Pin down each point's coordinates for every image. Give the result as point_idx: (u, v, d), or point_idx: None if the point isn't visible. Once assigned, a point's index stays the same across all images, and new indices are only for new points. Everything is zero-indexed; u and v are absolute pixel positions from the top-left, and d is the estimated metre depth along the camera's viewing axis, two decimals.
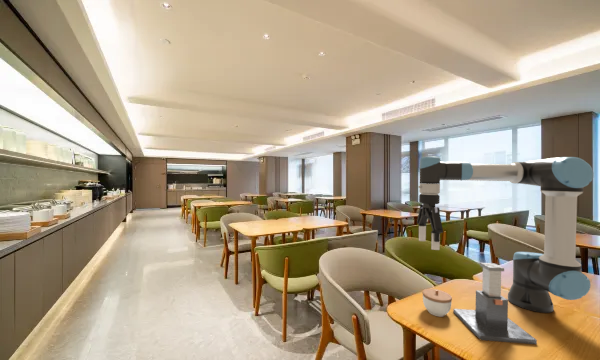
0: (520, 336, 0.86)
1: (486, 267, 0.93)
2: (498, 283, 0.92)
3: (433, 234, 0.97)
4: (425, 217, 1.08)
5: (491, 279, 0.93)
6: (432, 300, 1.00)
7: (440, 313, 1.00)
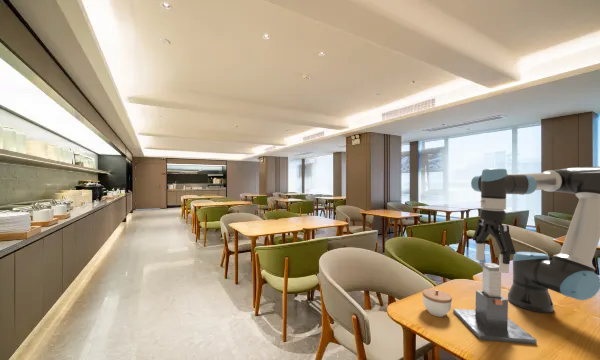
0: (520, 336, 0.86)
1: (486, 267, 0.93)
2: (498, 283, 0.92)
3: (502, 255, 0.87)
4: (485, 234, 0.98)
5: (491, 279, 0.93)
6: (432, 300, 1.00)
7: (440, 313, 1.00)
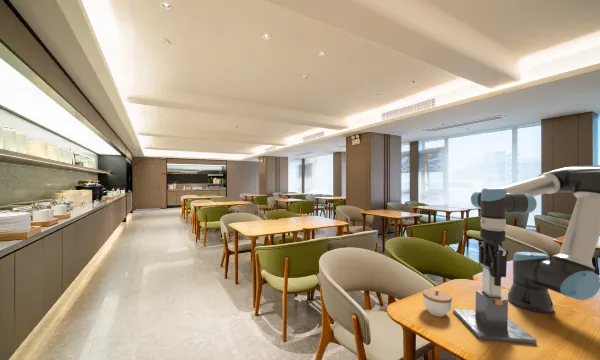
0: (520, 336, 0.86)
1: (486, 267, 0.93)
2: None
3: (493, 277, 0.92)
4: (489, 256, 0.96)
5: None
6: (432, 300, 1.00)
7: (440, 313, 1.00)
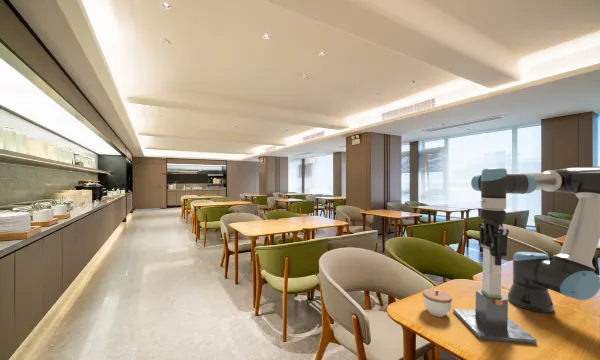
0: (520, 336, 0.86)
1: (486, 247, 0.93)
2: None
3: (494, 257, 0.92)
4: (489, 237, 0.96)
5: None
6: (432, 300, 1.00)
7: (440, 313, 1.00)
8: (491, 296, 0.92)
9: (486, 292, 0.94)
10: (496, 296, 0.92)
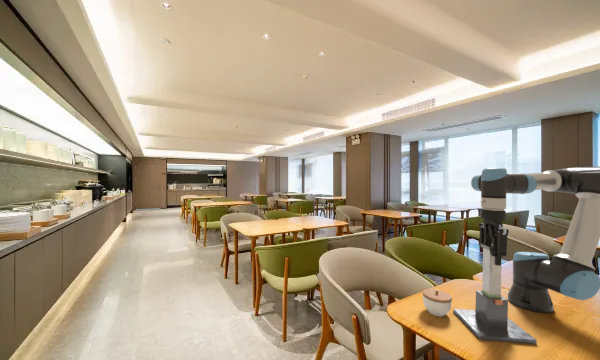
0: (520, 336, 0.86)
1: (486, 247, 0.93)
2: None
3: (494, 257, 0.92)
4: (489, 237, 0.96)
5: None
6: (432, 300, 1.00)
7: (440, 313, 1.00)
8: (491, 296, 0.92)
9: (486, 292, 0.94)
10: (496, 296, 0.92)
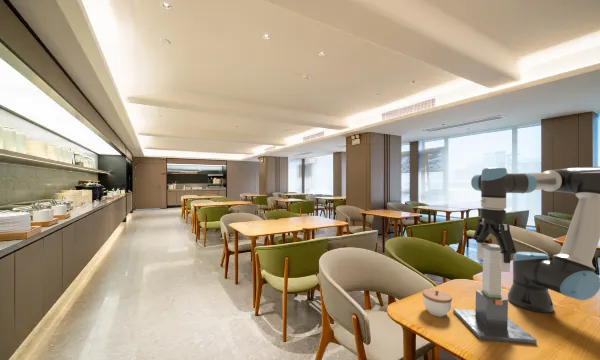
0: (520, 336, 0.86)
1: (486, 247, 0.93)
2: (499, 263, 0.92)
3: (503, 254, 0.87)
4: (486, 233, 0.98)
5: (492, 259, 0.92)
6: (432, 300, 1.00)
7: (440, 313, 1.00)
8: (491, 296, 0.92)
9: (486, 292, 0.94)
10: (496, 296, 0.92)
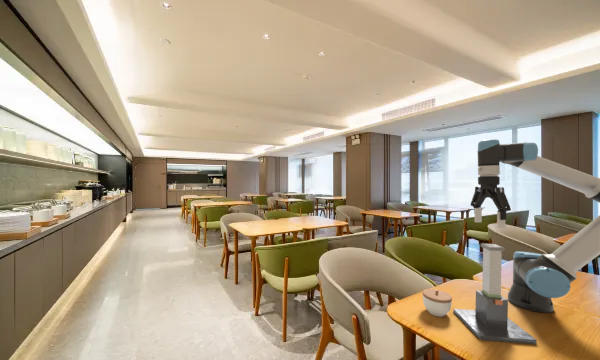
0: (520, 336, 0.86)
1: (486, 247, 0.93)
2: (499, 263, 0.92)
3: (499, 213, 1.01)
4: (482, 199, 1.12)
5: (492, 259, 0.92)
6: (432, 300, 1.00)
7: (440, 313, 1.00)
8: (491, 296, 0.92)
9: (486, 292, 0.94)
10: (496, 296, 0.92)
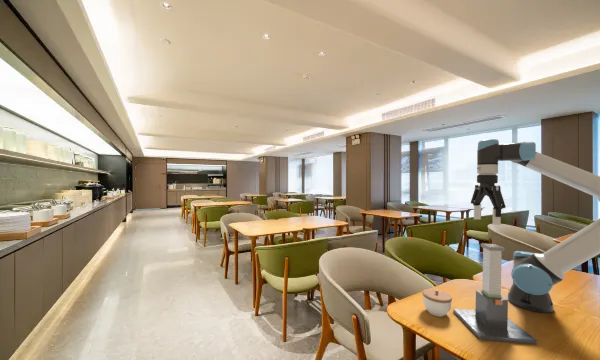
0: (520, 336, 0.86)
1: (486, 247, 0.93)
2: (499, 263, 0.92)
3: (494, 210, 1.05)
4: (481, 196, 1.16)
5: (492, 259, 0.92)
6: (432, 300, 1.00)
7: (440, 313, 1.00)
8: (491, 296, 0.92)
9: (486, 292, 0.94)
10: (496, 296, 0.92)
